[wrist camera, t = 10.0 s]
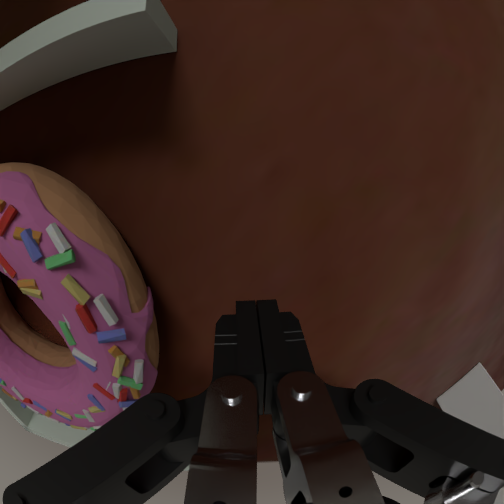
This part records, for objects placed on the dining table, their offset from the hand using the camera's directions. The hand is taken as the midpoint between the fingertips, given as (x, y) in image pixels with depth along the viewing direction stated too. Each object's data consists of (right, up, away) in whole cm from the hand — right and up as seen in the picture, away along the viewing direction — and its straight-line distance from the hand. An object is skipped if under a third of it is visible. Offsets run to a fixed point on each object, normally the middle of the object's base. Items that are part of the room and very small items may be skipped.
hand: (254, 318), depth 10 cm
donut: (-11, +1, +1) cm, 11 cm away
